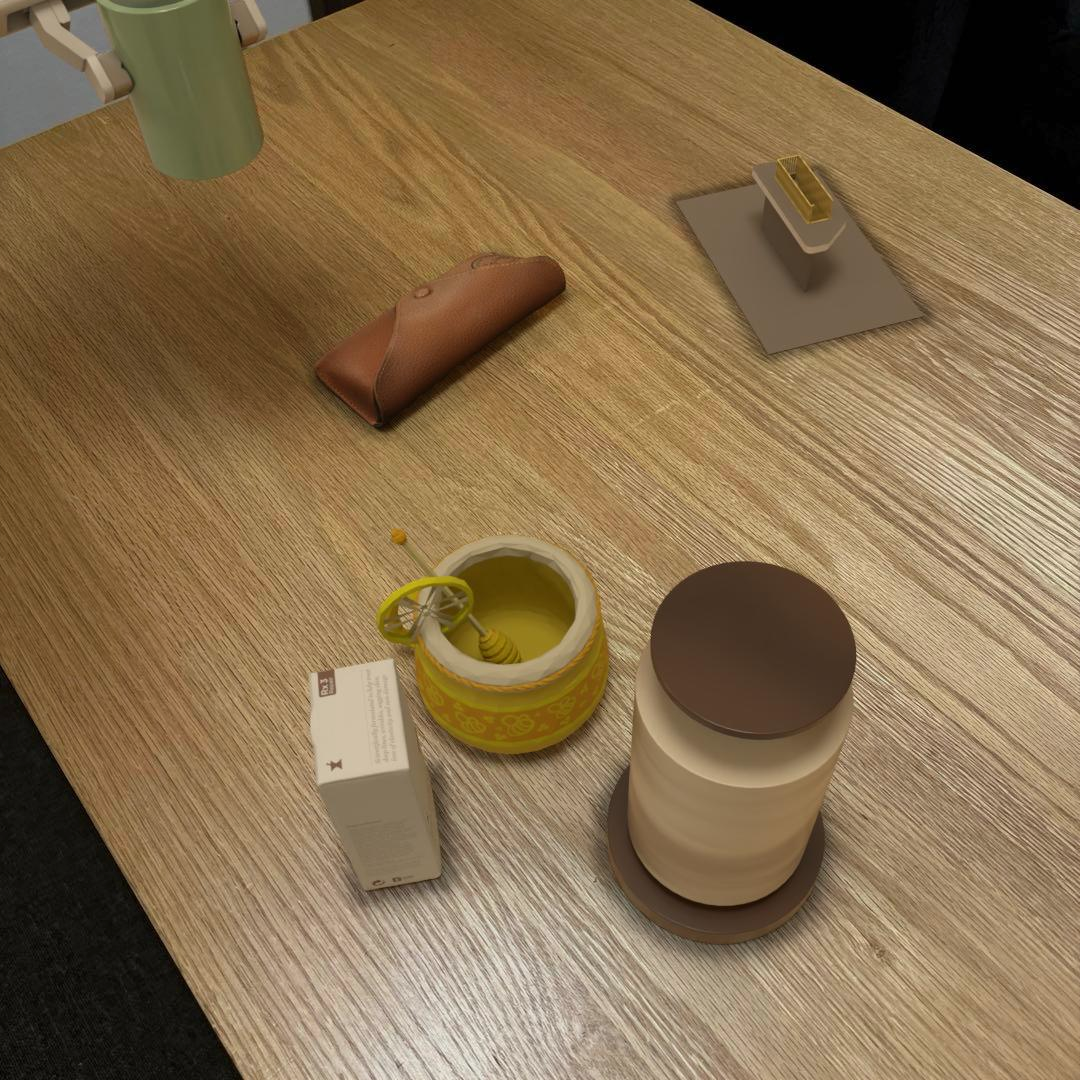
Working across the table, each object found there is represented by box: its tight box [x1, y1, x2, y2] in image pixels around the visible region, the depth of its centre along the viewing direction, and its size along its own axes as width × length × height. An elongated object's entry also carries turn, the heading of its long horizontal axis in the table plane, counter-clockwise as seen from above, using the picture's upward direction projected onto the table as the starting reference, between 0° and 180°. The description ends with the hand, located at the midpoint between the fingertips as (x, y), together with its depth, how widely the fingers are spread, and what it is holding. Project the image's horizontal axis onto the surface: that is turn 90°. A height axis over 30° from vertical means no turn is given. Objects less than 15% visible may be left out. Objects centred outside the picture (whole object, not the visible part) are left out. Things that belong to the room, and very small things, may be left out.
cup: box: [95, 0, 265, 182], centre depth 59 cm, size 6×6×9 cm
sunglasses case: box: [313, 251, 567, 428], centre depth 84 cm, size 18×7×7 cm
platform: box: [675, 153, 925, 355], centre depth 86 cm, size 12×18×7 cm, turn 17°
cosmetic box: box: [308, 657, 442, 891], centre depth 58 cm, size 6×4×12 cm
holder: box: [606, 560, 858, 945], centre depth 54 cm, size 11×11×19 cm
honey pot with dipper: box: [375, 528, 610, 755], centre depth 63 cm, size 13×11×12 cm
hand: (188, 67), depth 58 cm, fingers closed on cup, 6 cm apart
